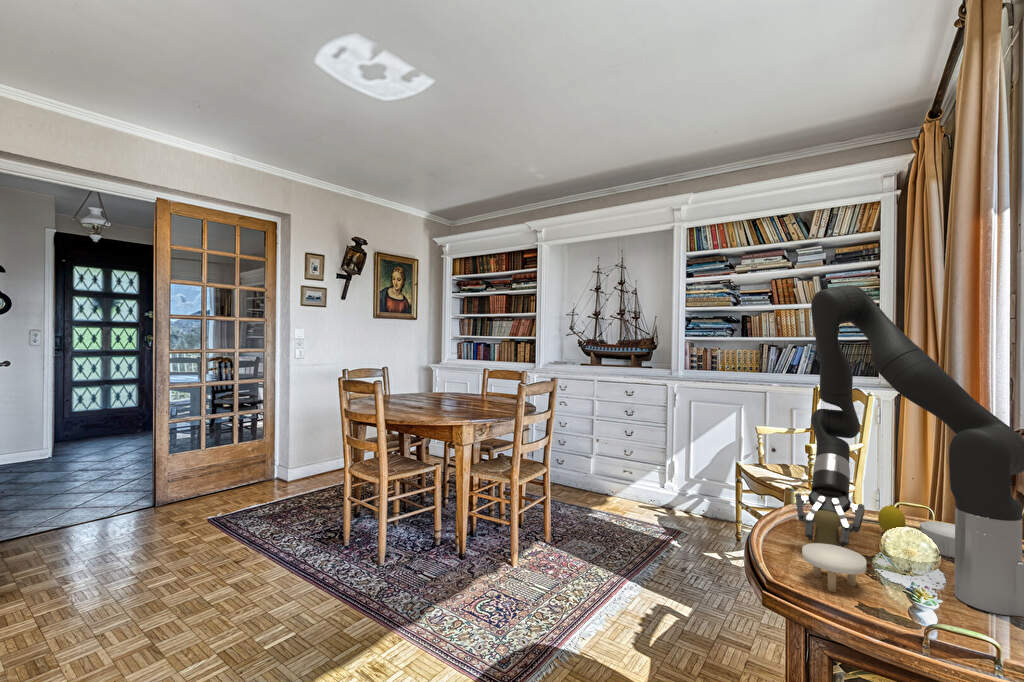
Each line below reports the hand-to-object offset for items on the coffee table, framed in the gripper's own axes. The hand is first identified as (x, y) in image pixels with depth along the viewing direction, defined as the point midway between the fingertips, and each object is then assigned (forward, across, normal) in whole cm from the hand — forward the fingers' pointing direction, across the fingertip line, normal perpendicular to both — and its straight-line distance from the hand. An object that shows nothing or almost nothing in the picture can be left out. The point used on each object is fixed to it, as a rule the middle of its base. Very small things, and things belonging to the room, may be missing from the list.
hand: (826, 541), depth 111 cm
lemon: (-17, +12, +24) cm, 32 cm away
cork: (+2, 0, +5) cm, 5 cm away
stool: (+11, +2, -4) cm, 11 cm away
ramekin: (-15, +23, +22) cm, 35 cm away
